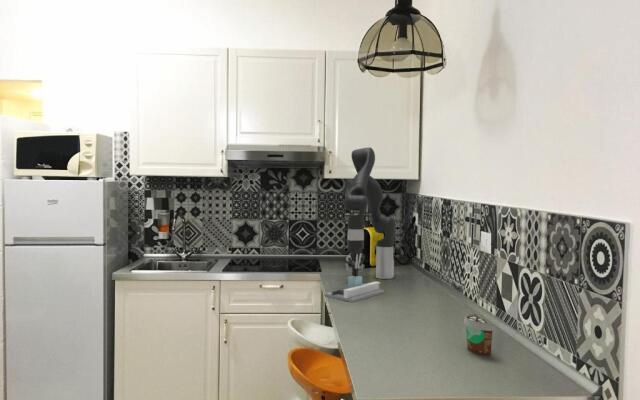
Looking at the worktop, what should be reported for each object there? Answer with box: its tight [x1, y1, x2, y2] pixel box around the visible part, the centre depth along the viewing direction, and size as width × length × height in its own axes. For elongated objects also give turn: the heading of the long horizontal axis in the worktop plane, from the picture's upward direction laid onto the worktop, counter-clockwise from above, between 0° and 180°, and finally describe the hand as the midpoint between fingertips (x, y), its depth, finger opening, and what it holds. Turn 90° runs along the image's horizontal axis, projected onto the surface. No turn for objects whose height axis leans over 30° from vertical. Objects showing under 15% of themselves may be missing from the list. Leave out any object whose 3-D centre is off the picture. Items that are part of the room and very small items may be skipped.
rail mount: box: [324, 281, 385, 303], centre depth 215 cm, size 24×16×5 cm, turn 138°
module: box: [347, 275, 363, 288], centre depth 215 cm, size 5×4×7 cm
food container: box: [463, 312, 494, 357], centre depth 144 cm, size 12×6×10 cm, turn 5°
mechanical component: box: [344, 262, 365, 273], centre depth 239 cm, size 3×10×10 cm, turn 78°
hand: (355, 276), depth 215 cm, fingers closed
